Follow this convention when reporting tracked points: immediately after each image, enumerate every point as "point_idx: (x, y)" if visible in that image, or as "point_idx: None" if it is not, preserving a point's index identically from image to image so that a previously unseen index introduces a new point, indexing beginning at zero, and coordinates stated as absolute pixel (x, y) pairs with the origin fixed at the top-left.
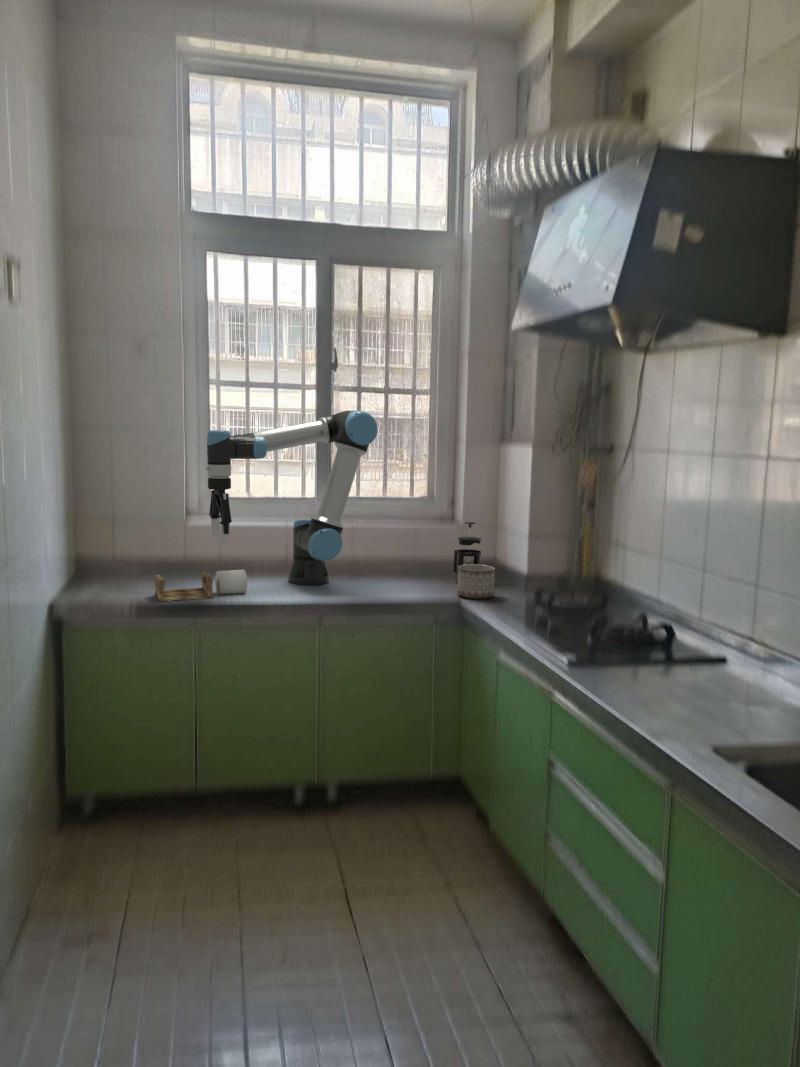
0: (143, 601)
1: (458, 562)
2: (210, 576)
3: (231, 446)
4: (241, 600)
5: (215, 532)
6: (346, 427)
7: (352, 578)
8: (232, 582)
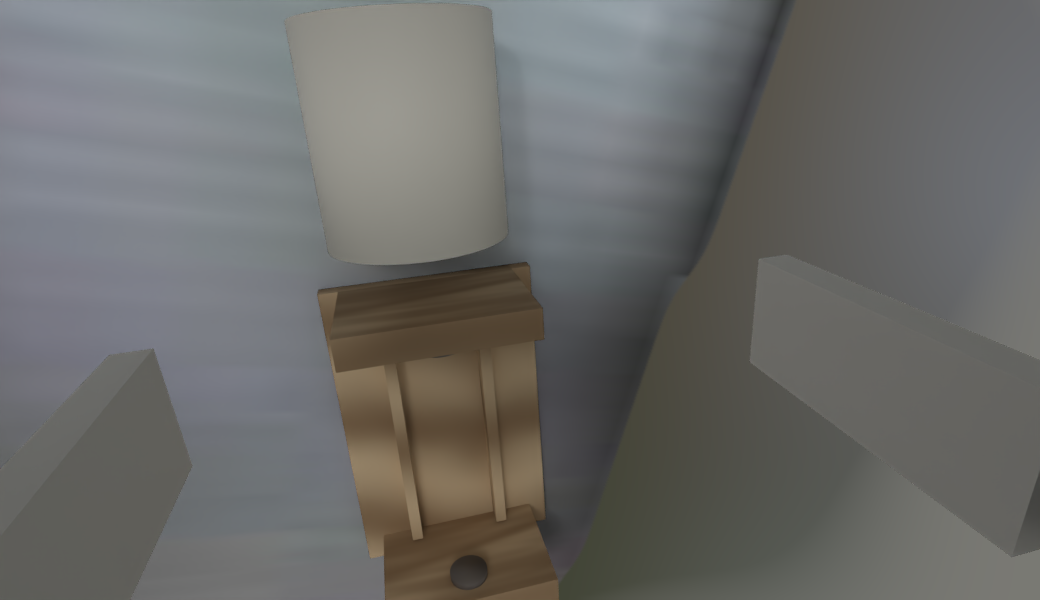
0: None
1: None
2: (520, 319)
3: None
4: (624, 101)
5: (139, 470)
6: None
7: None
8: (501, 142)
